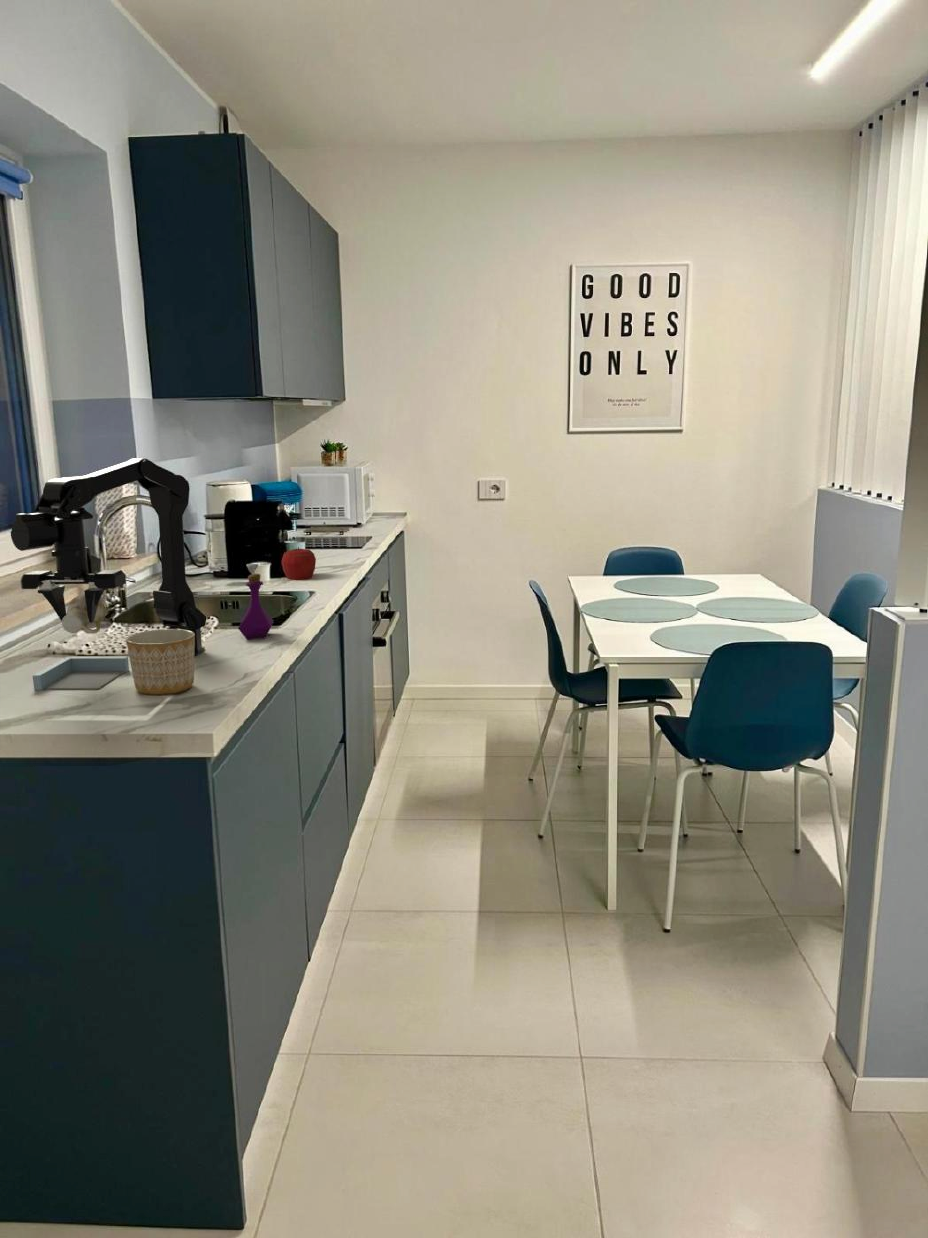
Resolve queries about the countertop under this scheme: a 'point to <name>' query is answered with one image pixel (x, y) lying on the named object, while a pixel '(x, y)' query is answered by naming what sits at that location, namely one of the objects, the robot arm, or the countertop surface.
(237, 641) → the countertop surface
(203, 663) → the countertop surface
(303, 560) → the apple
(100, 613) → the mug
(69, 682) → the mat
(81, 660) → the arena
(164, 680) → the planter
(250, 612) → the perfume bottle
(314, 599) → the countertop surface
